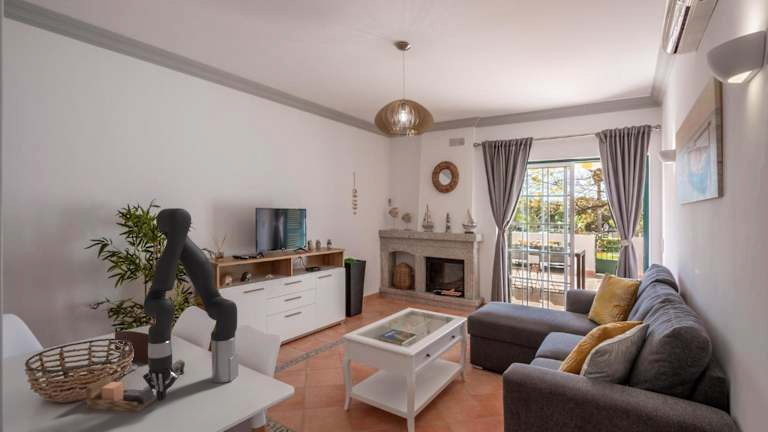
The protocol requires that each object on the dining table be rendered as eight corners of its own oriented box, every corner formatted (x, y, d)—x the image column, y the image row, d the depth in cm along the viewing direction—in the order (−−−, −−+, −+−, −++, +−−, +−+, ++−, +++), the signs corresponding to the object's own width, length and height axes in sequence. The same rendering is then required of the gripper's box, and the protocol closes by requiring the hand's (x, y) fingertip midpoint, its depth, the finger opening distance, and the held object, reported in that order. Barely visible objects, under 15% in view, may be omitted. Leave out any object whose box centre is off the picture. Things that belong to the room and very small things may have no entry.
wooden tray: (156, 398, 149) (155, 378, 148) (138, 411, 140) (137, 390, 139) (107, 395, 151) (106, 375, 151) (87, 408, 142) (86, 387, 142)
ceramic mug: (115, 379, 164) (115, 361, 163) (104, 375, 167) (104, 357, 167) (141, 370, 173) (141, 352, 173) (130, 366, 177) (130, 349, 176)
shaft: (152, 397, 146) (152, 386, 146) (144, 404, 142) (143, 392, 142) (131, 396, 147) (131, 384, 147) (122, 402, 143) (122, 390, 143)
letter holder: (151, 364, 179) (149, 333, 178) (114, 360, 183) (112, 330, 182) (167, 355, 188) (166, 326, 187) (132, 351, 193) (131, 323, 192)
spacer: (123, 396, 148) (122, 382, 147) (114, 403, 143) (113, 388, 143) (112, 396, 148) (111, 381, 148) (102, 402, 144) (102, 387, 144)
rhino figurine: (154, 385, 159) (153, 370, 159) (180, 370, 172) (179, 357, 172) (162, 386, 158) (162, 372, 158) (188, 371, 171) (187, 358, 171)
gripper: (135, 356, 139) (137, 404, 140) (170, 358, 138) (171, 406, 139) (150, 347, 147) (151, 393, 148) (183, 349, 145) (185, 396, 146)
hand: (161, 399), depth 143 cm, fingers closed
